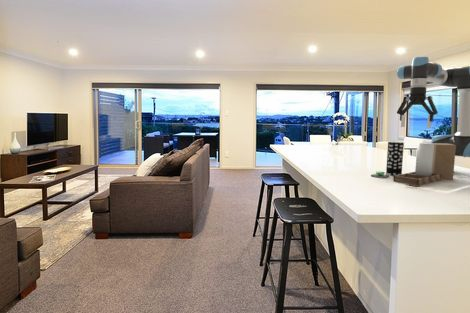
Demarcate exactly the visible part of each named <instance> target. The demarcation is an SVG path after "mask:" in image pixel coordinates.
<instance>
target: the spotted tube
mask: <svg viewBox="0 0 470 313" xmlns="http://www.w3.org/2000/svg"><path fill="white" fill-rule="evenodd" d="M404 144H405V142H403V141H388V142H387V153H386V171H385V175H389V176H390V177H391V176H393V177H394V176H395V175H400V174H403V158H404Z"/></svg>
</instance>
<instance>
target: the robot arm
mask: <svg viewBox="0 0 470 313" xmlns="http://www.w3.org/2000/svg"><path fill="white" fill-rule="evenodd" d="M396 75H397V78H398V79H400V80H410V88H409V90H410V91H409V96H404V97H403V99H402V102H401V104H400V106H399V107H398V109H397V111H396V114H397V115H399V121H400V128H404V127H405V126H406V113H407V112H408V110H409V109H410V108H412V107H413V106H422V108H424V110H425V111H426V112H427V113H428V115H427V122H426V123H427V124H426V128H427V129H431V127H432V122H434V117H435V115H438V114H439V112H438V110H437V107H436V105H435V103H434V101H433V96H432V95H428V96H427V95H426V94H427V86H428V85H427V84H428V82H429V83H434V85H437V86H442V87H449V88H456V90H457V92H458V93H459V96H458V112H457V129H456V132H455V133H454V134H444V135H443V134H441V135H440V134H439V135H433V136H432V137H431V142H430V143H448V144H453V145H456V150H455V157H461V158H462V157H463V158H470V66H469V65H467V66H459V67H452V68H443V67H442V65H441V64H440V63H437V62H430V61H429V57H428V56H415V57H413V58H412V62H411V64H409V65H401V66H399V67H398V68H397V70H396ZM426 100H427V102H428V103H426ZM408 101H409V102H408ZM407 103H408V104H407ZM428 104H429V105H428Z"/></svg>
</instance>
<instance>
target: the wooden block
mask: <svg viewBox="0 0 470 313" xmlns="http://www.w3.org/2000/svg"><path fill="white" fill-rule="evenodd" d="M455 150H456V145H453V144H448V143H434V153H433V165H432V173H434V174H441V180H440V181H442V180H447V181H454V174H455V173H454V172H455V171H454V170H455V160H456V156H455Z"/></svg>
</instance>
